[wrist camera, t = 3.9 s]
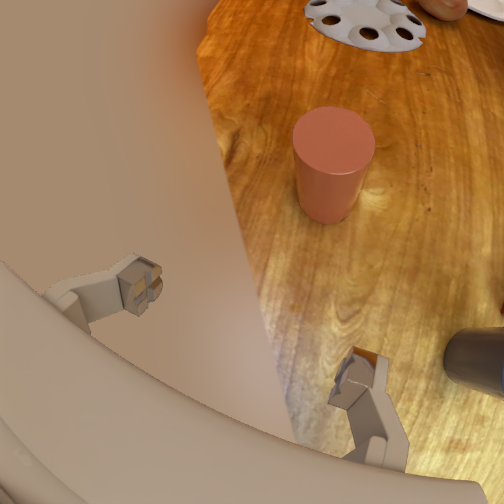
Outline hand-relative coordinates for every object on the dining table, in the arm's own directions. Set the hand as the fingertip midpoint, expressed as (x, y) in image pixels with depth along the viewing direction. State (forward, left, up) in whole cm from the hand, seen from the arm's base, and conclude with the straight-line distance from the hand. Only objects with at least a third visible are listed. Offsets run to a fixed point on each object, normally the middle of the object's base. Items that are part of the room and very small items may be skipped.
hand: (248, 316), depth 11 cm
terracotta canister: (+10, +7, -15) cm, 20 cm away
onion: (+51, +24, -16) cm, 58 cm away
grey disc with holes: (+36, +28, -16) cm, 48 cm away
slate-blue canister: (+13, -14, -15) cm, 24 cm away
